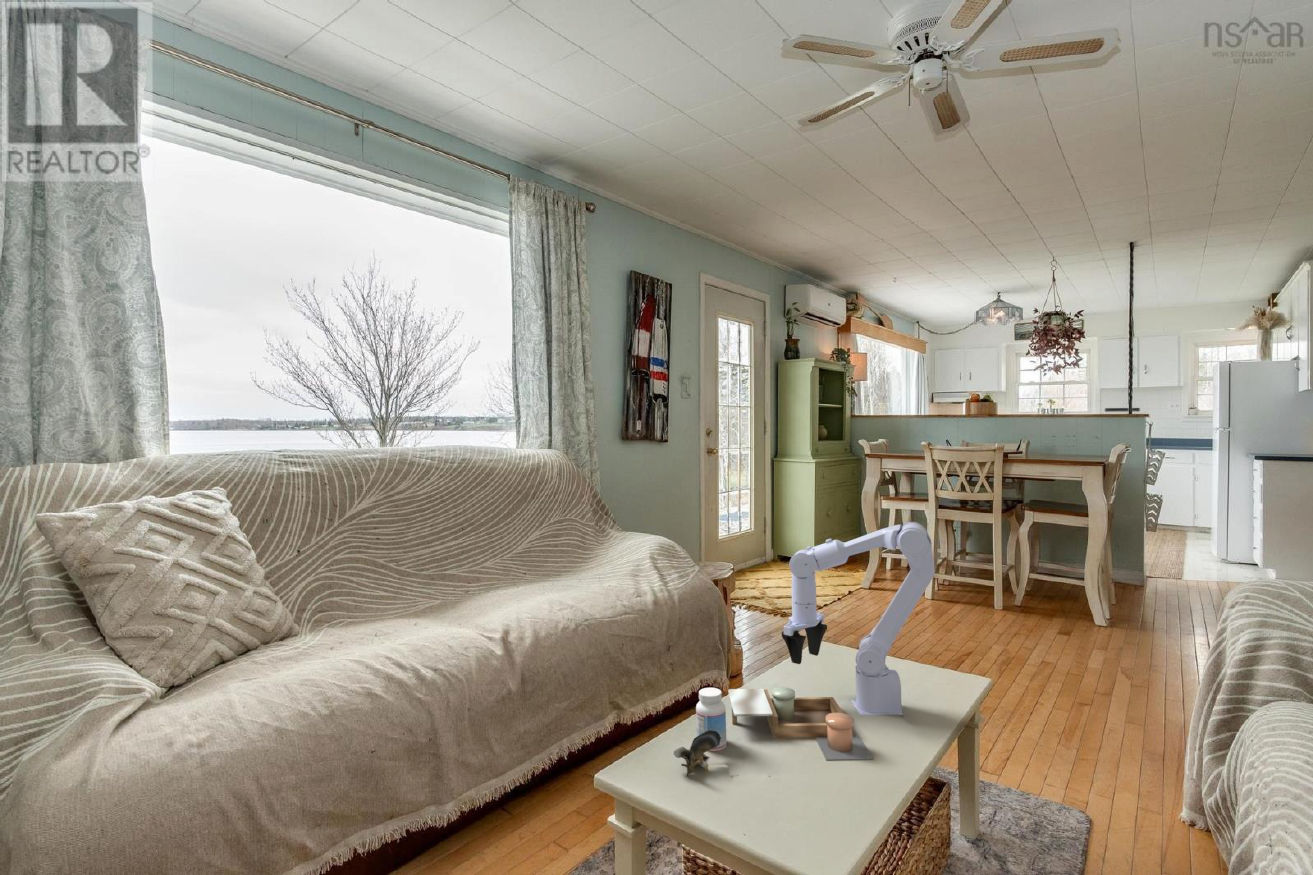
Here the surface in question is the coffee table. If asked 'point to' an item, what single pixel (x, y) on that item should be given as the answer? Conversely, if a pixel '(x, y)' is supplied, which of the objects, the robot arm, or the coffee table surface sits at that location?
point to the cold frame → (804, 723)
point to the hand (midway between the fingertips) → (805, 658)
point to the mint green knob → (784, 702)
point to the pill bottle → (711, 714)
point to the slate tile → (854, 754)
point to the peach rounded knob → (839, 731)
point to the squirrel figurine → (698, 750)
